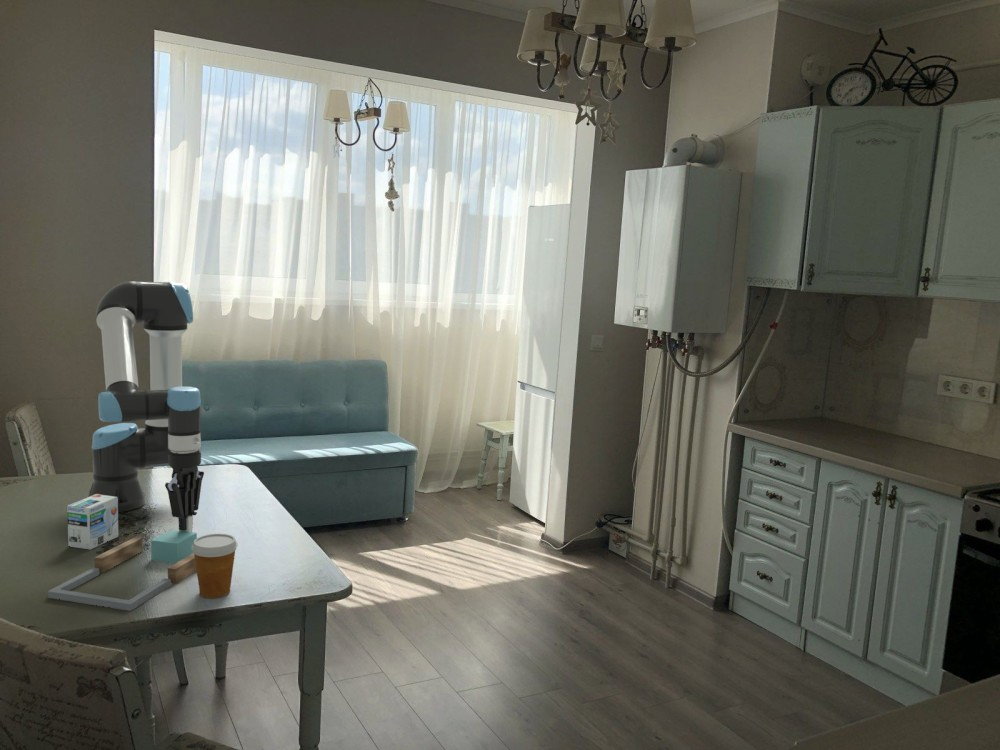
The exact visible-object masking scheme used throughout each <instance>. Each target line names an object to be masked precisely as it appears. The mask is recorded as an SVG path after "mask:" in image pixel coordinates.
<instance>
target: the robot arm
mask: <svg viewBox="0 0 1000 750" xmlns="http://www.w3.org/2000/svg"><path fill="white" fill-rule="evenodd" d="M95 313H96V314H95V320H96V326H97V327H98V328H99V329H100V330H101V341H102V343H101V344H102V354H103V355H102V357H103V369H104V371H103V372H104V381H105V391H101V392H100V393H98V398H97V399H98V401H97V403H98V419H99V420H100V421H101V422H104V423H115V424H109V425H105V426H102V427H100V428H98V429H97V430H95V431H94V432H93V434H92V444H91V449H92V476H93V477H92V478H93V479H92V484H91V487H90V491H89V492H88V496H87V498H88V497H90V496H93V495H95V494H100V495H106V496H114V497H118V513H122V512H128V511H132V510H135V509H139V508H140V507H142V506H144V505H145V504H146V494H145V492H144V491H143V488H142V484H141V481H140V478H139V469H146V468H147V469H148V468H159V467H170V468H171V469H172V473H171V480H170V481H169V482H165V485H164V487H165V489H166V490H167V494H168V499H169V506H170V511H171V516H172V517H173V518H177V519H178V530H179V531H187V532H193V520H194V519H193V517H194V516H197V514H198V513H197V511H198V510H199V505H200V499H201V492H202V491H201V489H202V482H203V478H204V475H205V472H204V471H201V470H199V467H198V466H200V465H201V464H202V450H200V448H202V447H201V446H202V445H201V444H202V442H201V441H202V439H201V438H202V437H201V416H202V415H201V411H202V409H201V405H202V399H201V391H200V389H199V388H197V387H194V386H186V385H185V386H184V385H183V345H182V343H183V337H182V336H183V334H185V333H186V332H187V331H188V324H189V325H190V324H192V323H193V322H194V311H193V304H192V298H191V293H190V291H189V288H188V287H187V285H186V284H185V283H181V282H174V281H173V282H171V281H133V280H132V281H131V280H130V281H124V282H120V283H118V284H117V285H114V286H113V287H112V288H110V289H109V290H107V292H106V293H105V294H104V295H103V296H102V298H101V299H100V301H99V302H98V305H97V307H96V312H95ZM136 324H143V330H144V331H145V332H146V333H147V334H148V335H149V374H150V376H149V377H150V378H149V380H150V384H149V385H150V390H147V389H146V390H140V387H139V379H138V369H137V359H136V351H135V342H134V341H135V340H134V331H133V329H134V326H135V325H136ZM135 421H136V422H138V421H145V422H144V425H145V426H144V427H142V428H141V427H138V425H137V424H136V423H134V422H135Z"/></svg>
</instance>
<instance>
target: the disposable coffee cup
mask: <svg viewBox="0 0 1000 750" xmlns="http://www.w3.org/2000/svg"><path fill="white" fill-rule="evenodd" d="M237 547H239V544H238V542H237V540H236V536H233V535H231V534H227V533H209V534H205V535H201V536H199V537H198V536H197V539H195V540H194V543H193V545H192V551H193V553H194V557H195V563H196V570H197V571H196V576H197V582H198V583H197V584H198V589H199V595H200V596H201V597H203V598H207V599H217V598H221V597H225V596H227V595H228V594H229V593H230V592H231V585H232V577H233V570H234V564H235V556H236V555H235V554H236V550H237Z"/></svg>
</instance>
